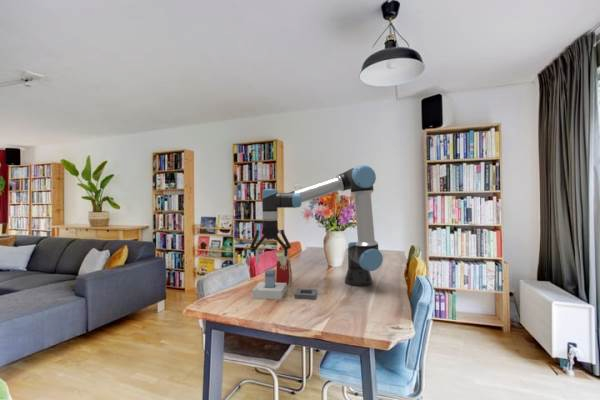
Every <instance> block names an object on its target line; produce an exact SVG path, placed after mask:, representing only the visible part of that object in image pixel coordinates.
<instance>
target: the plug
mask: <svg viewBox="0 0 600 400" xmlns="http://www.w3.org/2000/svg"><path fill="white" fill-rule="evenodd" d="M264 271H265V272H264V276H265V277H264V278H265V281H264V282H265V288H275V280H276V269H274V268H272V269H271V268H270V269H269V268H268V269H266V270H264Z"/></svg>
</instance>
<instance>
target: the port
mask: <svg viewBox="0 0 600 400" xmlns="http://www.w3.org/2000/svg"><path fill="white" fill-rule="evenodd" d="M286 292H287V286H286V283H275V288H265V281H260V282H258V284H256V285H255V287H253V289H252V293H251V294H252V296H251V297H252V299H255V298H256V299H257V300H259V299H260V300H261V299H262V300H279V301H280V300H282V299H283V298H284V296H285V295H286Z"/></svg>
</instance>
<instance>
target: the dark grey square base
mask: <svg viewBox="0 0 600 400" xmlns="http://www.w3.org/2000/svg"><path fill="white" fill-rule="evenodd" d="M317 294H318V288H302V287H301V288H298V287H297V288H296V290H295V293H294V299H296V300H314V301H315V300H317V296H318V295H317Z"/></svg>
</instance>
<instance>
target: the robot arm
mask: <svg viewBox="0 0 600 400" xmlns="http://www.w3.org/2000/svg"><path fill="white" fill-rule="evenodd" d="M376 175H377V174H376V172H375V170H374V169H373V168H372V167H371V166H370V165H364V164H363V165H361V164H360V165H357V166H356V167H352V168H350V169H348V170H346V171H344V172H342V173H340V174H337V175H336V176H335V177H332V178H330V179H329V178H328V179H326V180H322V181H319V182H317V183H314V184H310V185H308V186H304V187H301V188H299V189H295V190H291V191H290V192H278V189H276V188H265V189H263V190H262V192H261V193H262V195H261V199H262V200H261V203H262V204H261V205H262V207H261V208H262V209H261V210H262V212H261V213H262V229H257V230H256V231H255V235H254V238H253V240H252V241H251V244H250V245H249V248H250V249H252V250H253V256H254V257H255V264H259V262H260V253H259V250H260V249H259V247H260V245H261V244H262V243H263V242H264V241H265V239H267V240H274V239H275V240H276V241H277V243H279V245H280V246H281V247H282V248H283V249H282V250H283V263H285V256H287V251H288V250H290V249H291V248H292V245H291V244H290V243H291V242H289V239H288V237H287V235H286V234H285V229H279V225H278V224H279V223H278V217H279V216H278V211H279V210H278V209H279V208H280V209H281V208H282V209H292V208H293V209H296V208H300V207H301V206H302V203H305V202H308V201H312V200H315V199H318V198H320V197H323V196H326V195H329V194H332V193H336V192H338V191H340V192H344V191H348V190H350V194H352V195H353V197H354V198H353V199H354V210H355V220H356V222H355V223H356V233H357V241H356V242H355V241H354V242H353V241H352V242H351V241H350V242H348V244H347V271H346V274H345V277H344V282H345V284H347V285H349V286H354V287H355V286H356V287H367V286H371V285H372V284H373V278H372V275H371V272H374V271H377V270H378V269H379V268H380V267H381V266H382V264H383V260H384V258H383V255H382V252H381V251H380V250H379V242H378V241H376V240H375V228H374V217H373V206H372V205H373V204H372V193H373V192H374V184H375V183H376V179H377V176H376ZM261 234H262V235H263V236H262V237H261V238H260V239H259V237H260V235H261ZM279 234H280V235H281V237H282V239H283V241H282V239H281V238H280V236H279ZM258 239H259V241H258ZM257 241H258V242H257ZM287 249H288V250H287Z"/></svg>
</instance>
